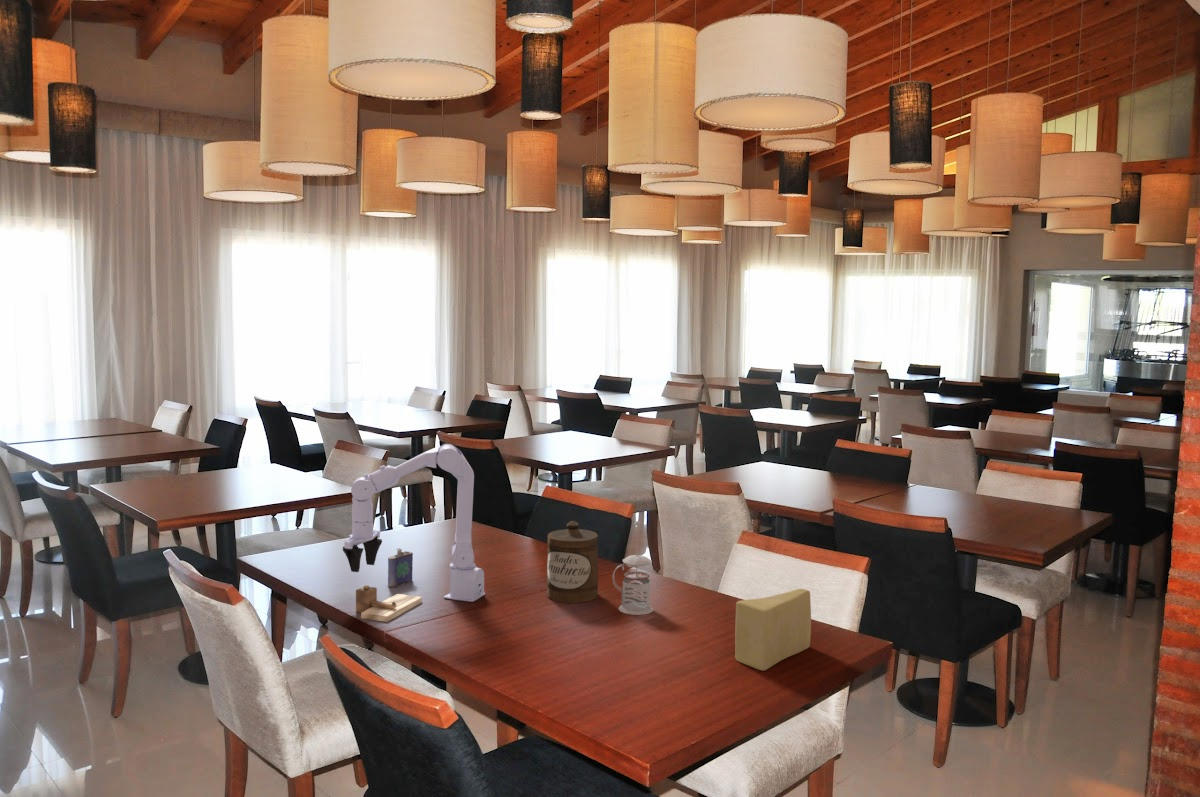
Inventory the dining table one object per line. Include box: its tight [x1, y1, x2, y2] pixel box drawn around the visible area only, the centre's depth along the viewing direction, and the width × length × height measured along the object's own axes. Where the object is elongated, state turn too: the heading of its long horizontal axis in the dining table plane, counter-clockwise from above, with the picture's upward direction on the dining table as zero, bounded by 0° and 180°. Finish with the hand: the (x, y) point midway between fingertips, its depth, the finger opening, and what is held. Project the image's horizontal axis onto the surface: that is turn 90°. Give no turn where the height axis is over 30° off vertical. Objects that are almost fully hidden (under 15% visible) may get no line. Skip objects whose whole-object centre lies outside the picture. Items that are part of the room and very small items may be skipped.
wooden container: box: [546, 520, 599, 604], centre depth 269 cm, size 15×15×22 cm
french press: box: [612, 520, 654, 616], centre depth 258 cm, size 10×12×25 cm
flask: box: [387, 548, 414, 588], centre depth 278 cm, size 9×3×11 cm, turn 146°
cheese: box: [734, 588, 812, 672], centre depth 224 cm, size 22×10×15 cm, turn 129°
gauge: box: [355, 585, 396, 614], centre depth 252 cm, size 11×4×7 cm, turn 71°
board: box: [360, 593, 423, 623], centre depth 254 cm, size 8×18×2 cm, turn 161°
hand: (362, 568), depth 261 cm, fingers open, 7 cm apart
